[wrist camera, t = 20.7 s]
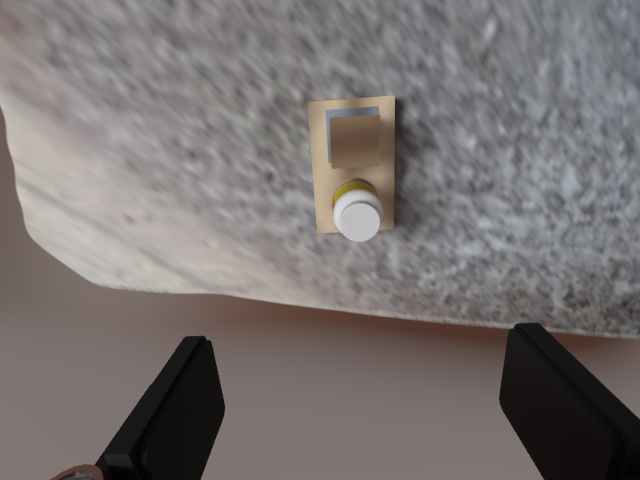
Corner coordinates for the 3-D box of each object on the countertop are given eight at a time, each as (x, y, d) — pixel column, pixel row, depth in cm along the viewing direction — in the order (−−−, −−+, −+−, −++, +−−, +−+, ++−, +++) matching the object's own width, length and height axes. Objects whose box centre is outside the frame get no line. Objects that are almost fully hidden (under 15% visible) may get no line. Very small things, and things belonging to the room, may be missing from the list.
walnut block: (372, 160, 39) (379, 166, 34) (331, 162, 40) (331, 168, 34) (372, 116, 38) (380, 114, 32) (329, 118, 38) (329, 117, 32)
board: (391, 96, 39) (395, 95, 37) (391, 224, 44) (394, 229, 42) (308, 103, 40) (307, 102, 37) (318, 229, 45) (317, 234, 43)
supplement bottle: (325, 190, 41) (323, 209, 32) (365, 171, 40) (376, 185, 31) (343, 227, 42) (346, 256, 33) (382, 211, 41) (396, 235, 32)
